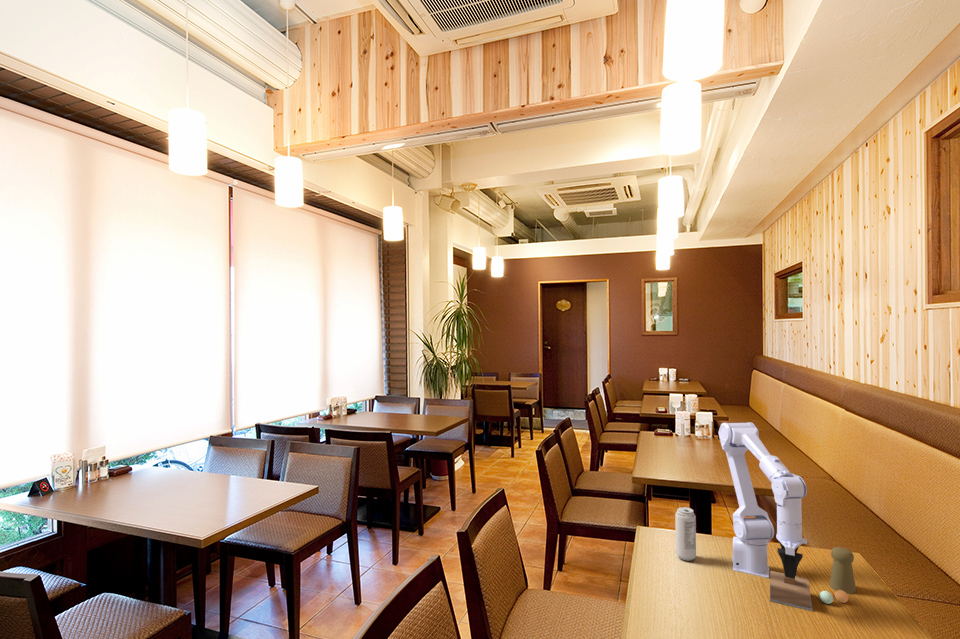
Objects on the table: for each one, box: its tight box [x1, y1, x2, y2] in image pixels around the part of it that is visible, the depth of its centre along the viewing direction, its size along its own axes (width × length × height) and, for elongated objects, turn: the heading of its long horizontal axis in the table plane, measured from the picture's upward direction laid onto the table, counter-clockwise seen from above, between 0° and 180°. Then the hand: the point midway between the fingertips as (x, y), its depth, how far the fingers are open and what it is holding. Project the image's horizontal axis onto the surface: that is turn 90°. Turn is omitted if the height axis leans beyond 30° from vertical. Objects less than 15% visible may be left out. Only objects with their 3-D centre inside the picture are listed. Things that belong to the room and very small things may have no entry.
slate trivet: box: [769, 594, 813, 612], centre depth 134 cm, size 10×10×1 cm
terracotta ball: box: [833, 590, 849, 604], centre depth 132 cm, size 3×3×3 cm
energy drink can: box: [674, 506, 697, 562], centre depth 158 cm, size 6×6×15 cm
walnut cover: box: [769, 570, 812, 609], centre depth 134 cm, size 9×9×7 cm
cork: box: [829, 546, 857, 595], centre depth 138 cm, size 6×6×11 cm
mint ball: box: [818, 590, 834, 605], centre depth 131 cm, size 3×3×3 cm
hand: (789, 571), depth 134 cm, fingers open, 7 cm apart
